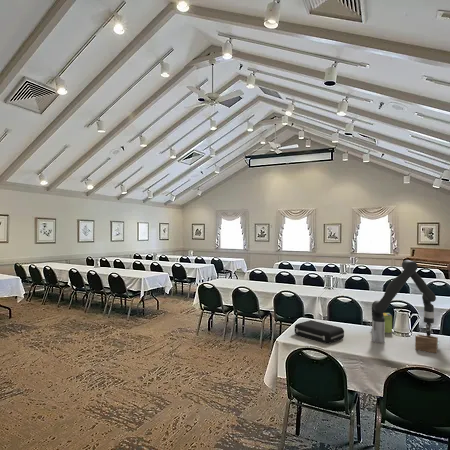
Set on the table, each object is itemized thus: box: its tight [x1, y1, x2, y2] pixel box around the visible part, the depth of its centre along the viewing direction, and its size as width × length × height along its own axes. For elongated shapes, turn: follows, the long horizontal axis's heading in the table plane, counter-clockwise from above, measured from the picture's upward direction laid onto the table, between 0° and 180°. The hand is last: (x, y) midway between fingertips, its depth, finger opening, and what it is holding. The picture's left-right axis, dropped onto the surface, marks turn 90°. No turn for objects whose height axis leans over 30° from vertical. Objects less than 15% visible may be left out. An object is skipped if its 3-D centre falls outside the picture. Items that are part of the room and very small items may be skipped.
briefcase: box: [294, 319, 345, 345], centre depth 306 cm, size 36×32×10 cm
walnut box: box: [414, 334, 439, 354], centre depth 276 cm, size 16×14×10 cm
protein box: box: [371, 312, 393, 334], centre depth 324 cm, size 10×15×16 cm
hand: (428, 336), depth 293 cm, fingers open, 8 cm apart
